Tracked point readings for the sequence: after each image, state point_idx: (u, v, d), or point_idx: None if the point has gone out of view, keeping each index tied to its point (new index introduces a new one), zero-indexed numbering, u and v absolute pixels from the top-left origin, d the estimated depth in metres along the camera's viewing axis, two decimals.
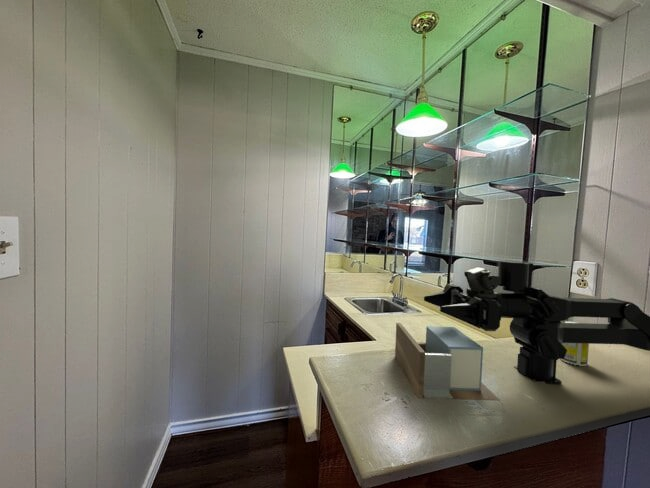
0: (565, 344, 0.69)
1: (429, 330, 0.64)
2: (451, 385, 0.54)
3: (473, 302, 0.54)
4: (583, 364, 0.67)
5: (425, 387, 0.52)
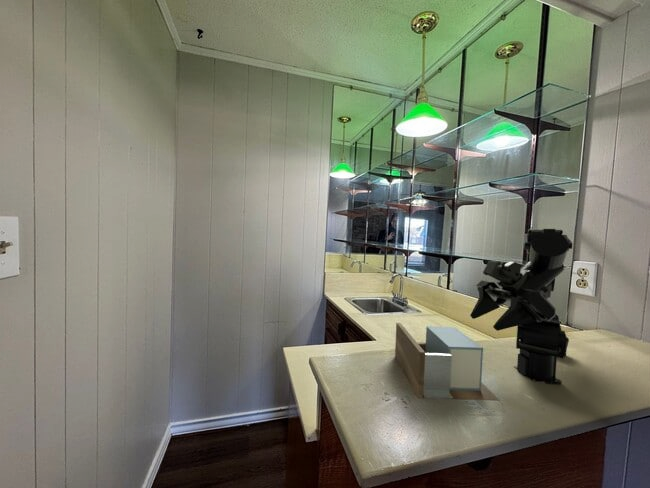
0: None
1: (429, 330, 0.64)
2: (451, 385, 0.54)
3: (515, 304, 0.53)
4: None
5: (425, 387, 0.52)
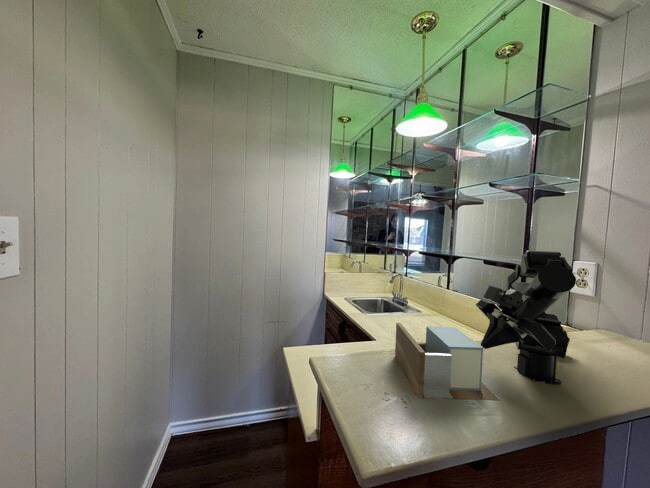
0: None
1: (429, 330, 0.64)
2: (451, 385, 0.54)
3: (502, 326, 0.58)
4: None
5: (425, 387, 0.52)
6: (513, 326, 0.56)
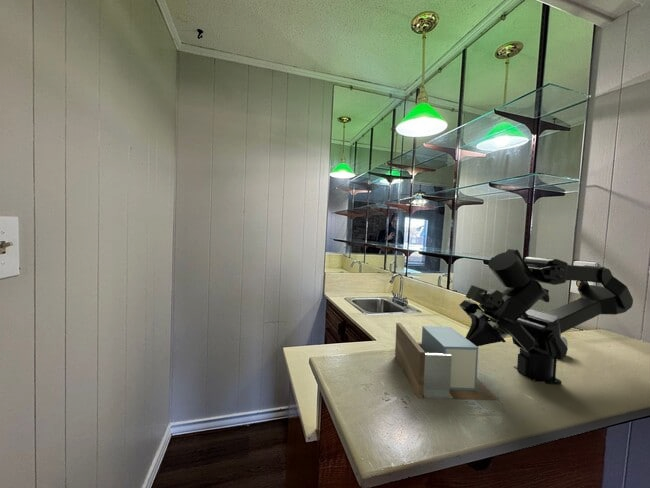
0: None
1: (425, 330, 0.64)
2: None
3: (483, 326, 0.57)
4: None
5: (425, 387, 0.52)
6: (494, 326, 0.56)
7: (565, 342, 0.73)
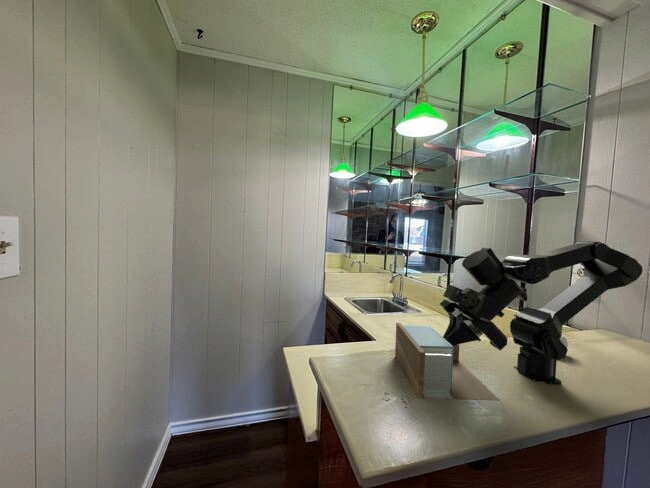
0: None
1: None
2: None
3: (459, 325, 0.58)
4: None
5: (425, 387, 0.52)
6: (469, 325, 0.56)
7: (565, 342, 0.73)
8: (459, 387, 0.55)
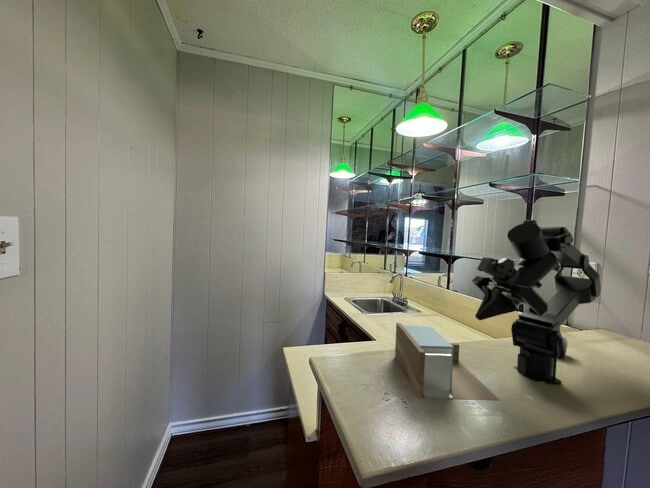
0: None
1: None
2: None
3: (495, 296, 0.58)
4: None
5: (425, 387, 0.52)
6: (506, 295, 0.56)
7: (565, 342, 0.73)
8: (459, 387, 0.55)
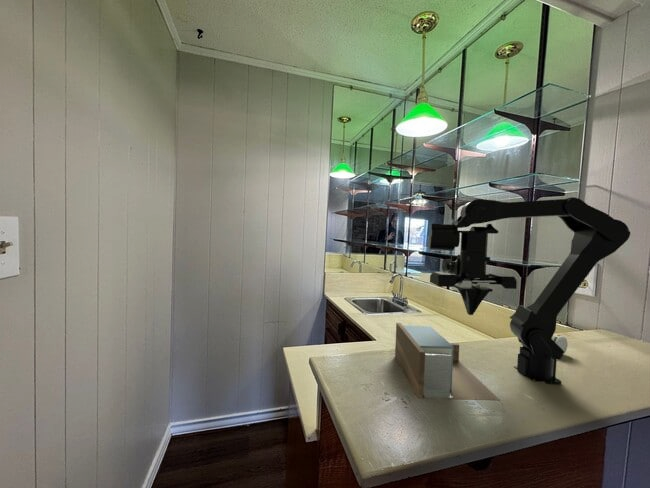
0: None
1: None
2: None
3: None
4: None
5: (425, 387, 0.52)
6: (454, 283, 0.66)
7: (565, 342, 0.73)
8: (459, 387, 0.55)
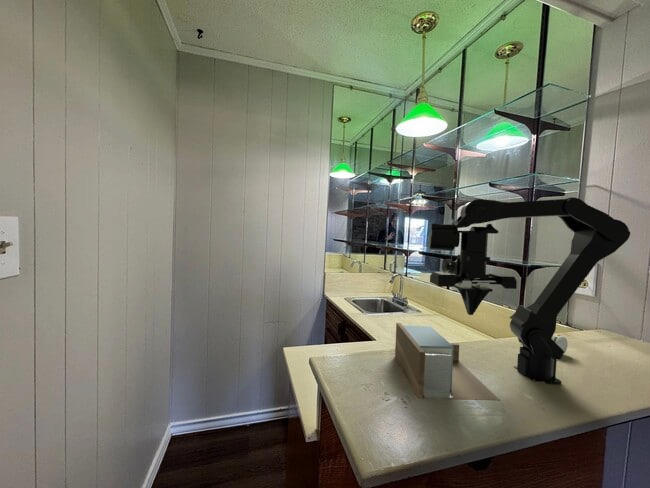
0: None
1: None
2: None
3: None
4: None
5: (425, 387, 0.52)
6: (454, 283, 0.66)
7: (565, 342, 0.73)
8: (459, 387, 0.55)
